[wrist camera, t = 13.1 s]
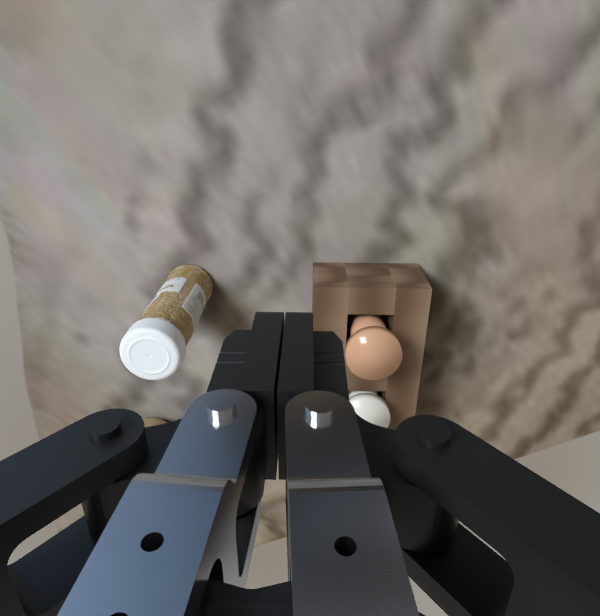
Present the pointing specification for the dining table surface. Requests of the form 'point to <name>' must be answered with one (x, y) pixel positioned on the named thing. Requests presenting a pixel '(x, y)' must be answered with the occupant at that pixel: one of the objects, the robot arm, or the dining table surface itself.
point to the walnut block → (396, 313)
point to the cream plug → (370, 407)
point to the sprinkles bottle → (167, 324)
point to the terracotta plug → (372, 348)
